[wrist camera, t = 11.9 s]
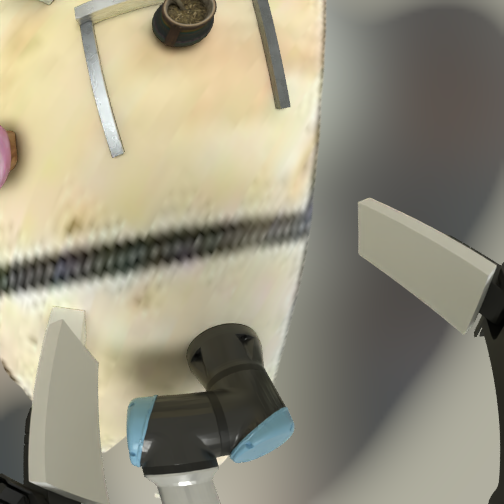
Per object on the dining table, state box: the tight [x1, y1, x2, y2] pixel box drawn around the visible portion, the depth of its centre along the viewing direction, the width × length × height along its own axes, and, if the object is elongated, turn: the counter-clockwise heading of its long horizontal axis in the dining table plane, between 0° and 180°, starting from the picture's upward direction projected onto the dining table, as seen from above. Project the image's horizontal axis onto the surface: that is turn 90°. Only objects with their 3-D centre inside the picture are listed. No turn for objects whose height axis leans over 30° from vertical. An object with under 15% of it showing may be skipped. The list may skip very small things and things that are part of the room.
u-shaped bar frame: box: [74, 0, 290, 158], centre depth 24 cm, size 21×24×4 cm
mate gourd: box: [152, 0, 217, 47], centre depth 20 cm, size 7×8×10 cm
